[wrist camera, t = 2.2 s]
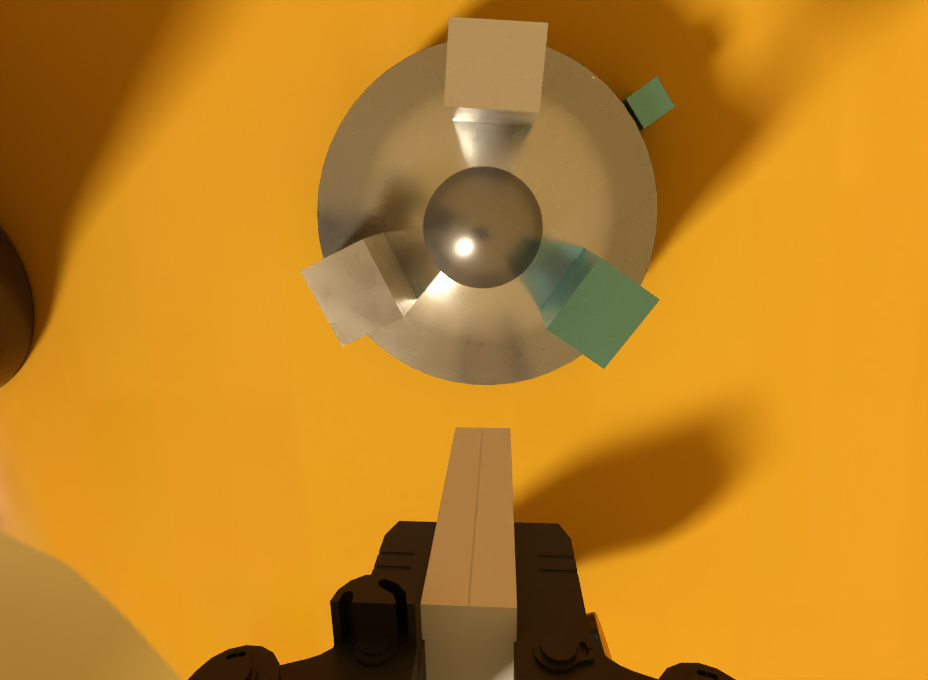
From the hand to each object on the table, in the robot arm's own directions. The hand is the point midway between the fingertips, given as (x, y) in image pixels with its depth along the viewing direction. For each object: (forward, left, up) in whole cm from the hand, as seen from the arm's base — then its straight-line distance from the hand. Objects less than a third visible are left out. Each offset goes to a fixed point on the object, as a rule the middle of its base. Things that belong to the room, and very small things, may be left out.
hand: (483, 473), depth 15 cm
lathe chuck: (-4, +5, -14) cm, 16 cm away
